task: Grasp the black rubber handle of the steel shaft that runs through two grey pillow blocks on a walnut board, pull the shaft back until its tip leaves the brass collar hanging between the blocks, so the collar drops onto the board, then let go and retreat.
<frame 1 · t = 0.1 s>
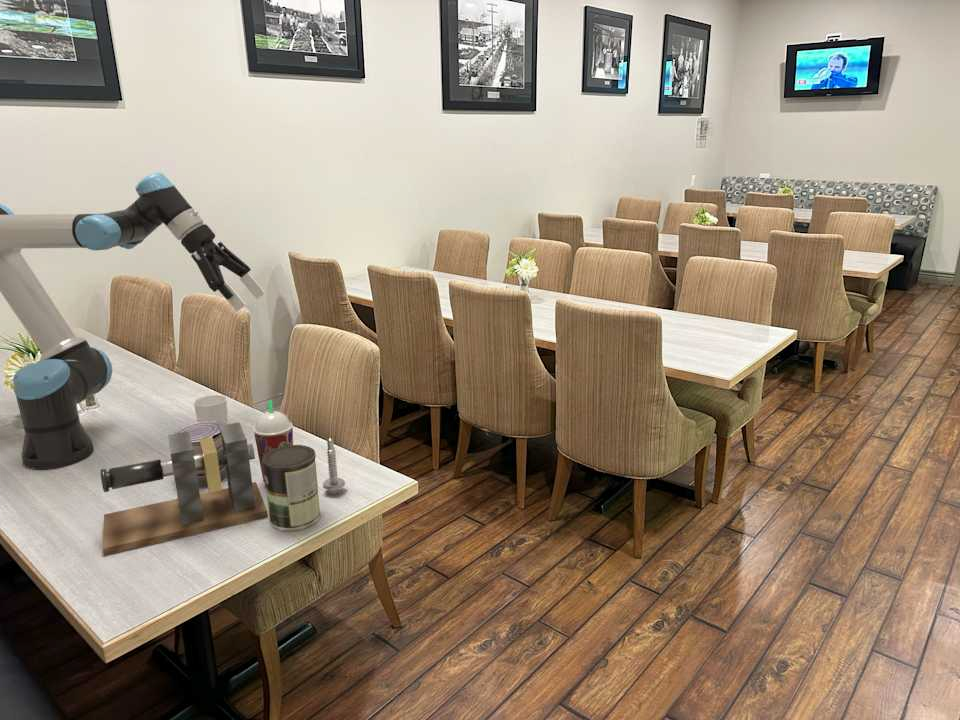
hand: (251, 301, 169), 36 cm above the table, tool tilted 35°, fingers open, 13 cm apart
coffee can: (295, 518, 140), on the table
bearing block stand: (186, 518, 140), on the table
screw: (334, 492, 150), on the table
collar: (210, 464, 139), point 11 cm above the table, touching shaft
smoothie: (279, 483, 155), on the table
can: (204, 478, 158), on the table
shaft: (181, 465, 137), point 12 cm above the table, slide at 0.0 cm, touching collar
white cup: (215, 436, 180), on the table
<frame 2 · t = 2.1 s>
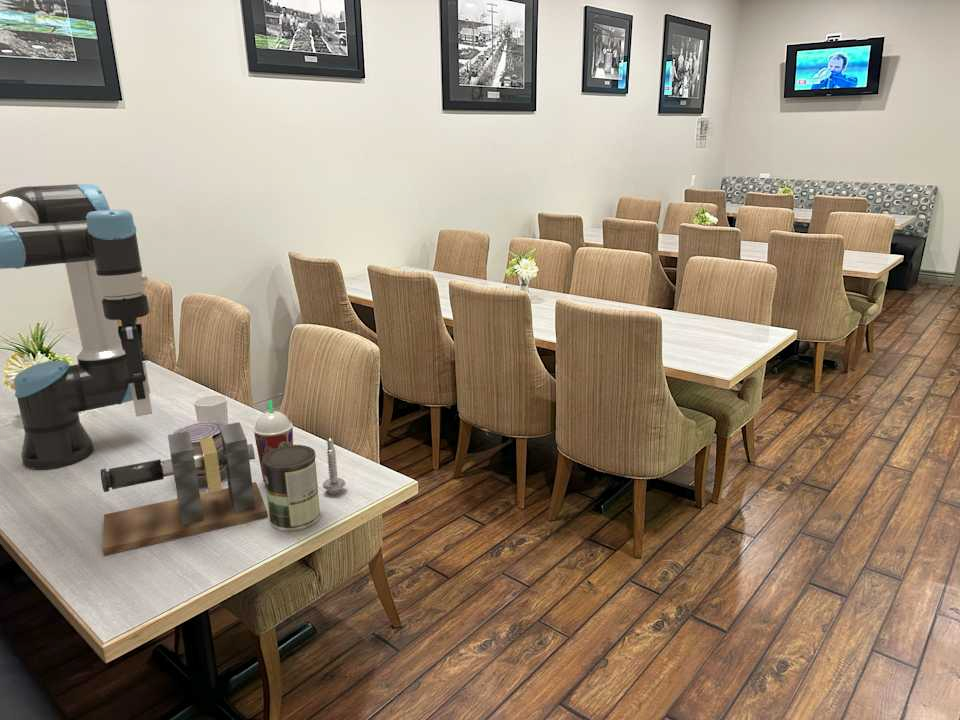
hand: (143, 404, 132), 25 cm above the table, tool pointing down, fingers open, 13 cm apart
nothing on the table moved.
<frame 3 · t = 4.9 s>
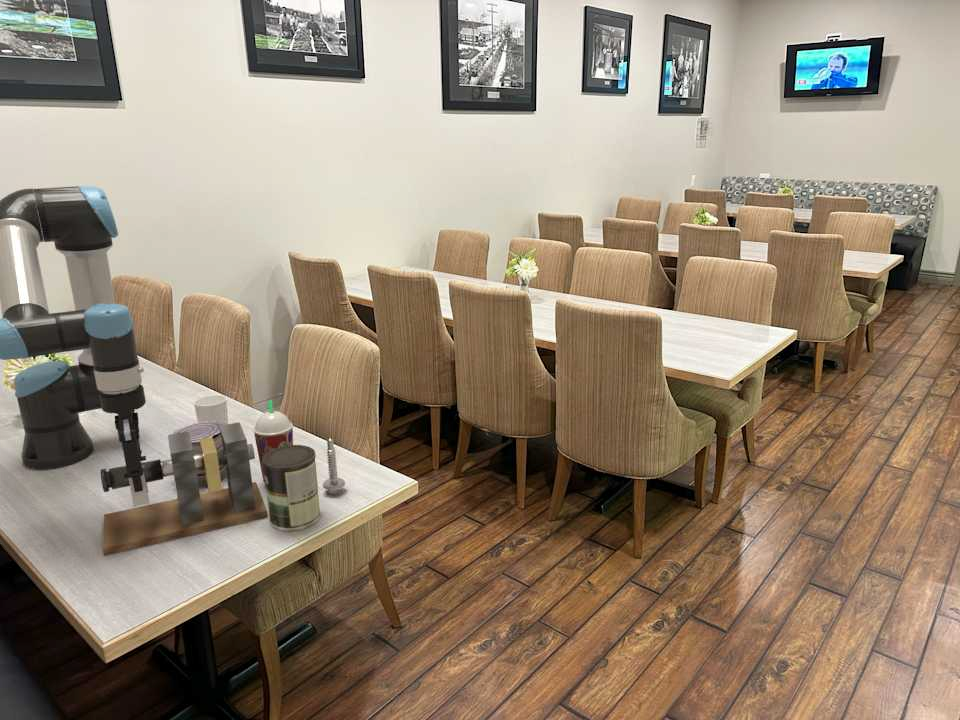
hand: (141, 498, 135), 7 cm above the table, tool pointing down, fingers closed on shaft, 4 cm apart
shaft: (181, 465, 137), point 12 cm above the table, slide at 0.0 cm, touching collar, gripper
everything else where it was.
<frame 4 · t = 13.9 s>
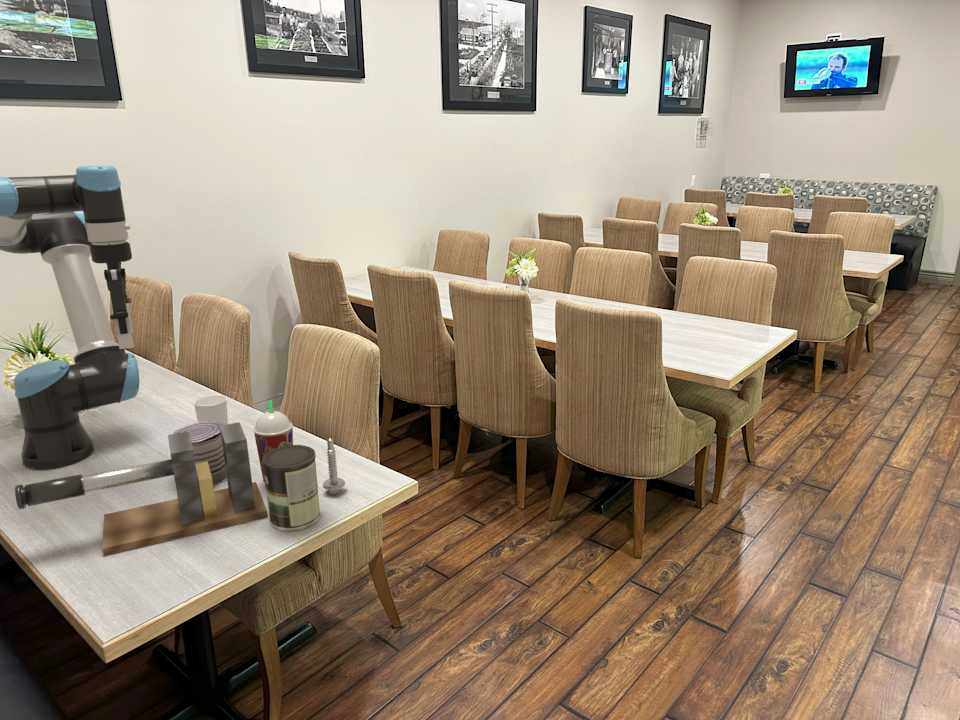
hand: (126, 340, 149), 33 cm above the table, tool pointing down, fingers open, 13 cm apart
collar: (206, 489, 140), point 6 cm above the table, touching bearing block stand
shaft: (104, 480, 131), point 12 cm above the table, slide at 13.7 cm
everything else where it was.
at the end: shaft slide at 13.7 cm; collar point 5.7 cm above the table; the gripper is holding nothing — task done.
